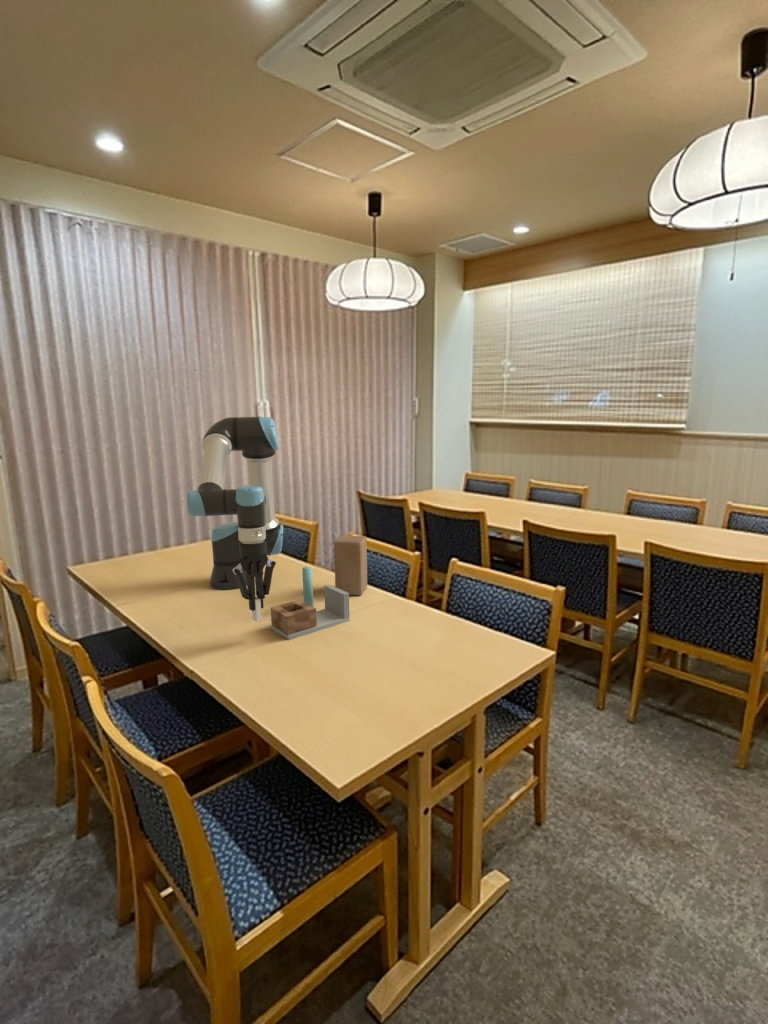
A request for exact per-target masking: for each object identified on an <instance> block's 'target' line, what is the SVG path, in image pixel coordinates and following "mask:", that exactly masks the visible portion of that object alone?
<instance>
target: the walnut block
mask: <svg viewBox="0 0 768 1024" xmlns="http://www.w3.org/2000/svg"><path fill="white" fill-rule="evenodd" d="M316 611H317V608H316V607H314V606H313V607H312V606H310V605H308V604H306V603H304V601H302V600H301V599H296V600H292V601H290V602H285V603H282V604H278V605H274V606H271V607H270V621H271V624H272V625H273V626H275V627H277V628H278V629H280V630H281V631H283V632H285V633H286V634H291V633H294V632H298V631H301V630H304V629H307V628H311V627H314V626H317V620H316ZM271 624H270V625H271Z"/></svg>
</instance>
